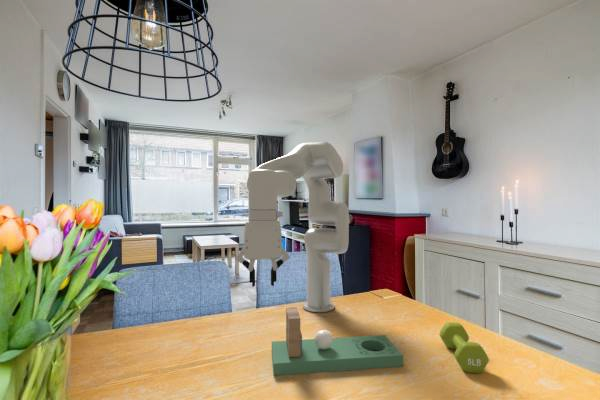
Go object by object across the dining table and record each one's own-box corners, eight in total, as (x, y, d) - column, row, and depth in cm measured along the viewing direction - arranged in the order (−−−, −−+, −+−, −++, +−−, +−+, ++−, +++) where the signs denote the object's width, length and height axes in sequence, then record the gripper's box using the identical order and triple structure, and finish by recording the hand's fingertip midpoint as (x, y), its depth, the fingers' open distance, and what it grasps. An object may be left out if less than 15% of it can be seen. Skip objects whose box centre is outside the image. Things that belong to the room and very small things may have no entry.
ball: (313, 344, 89) (313, 327, 89) (330, 343, 90) (330, 326, 90) (316, 353, 84) (316, 335, 84) (334, 352, 85) (334, 334, 85)
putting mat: (271, 351, 91) (271, 341, 91) (385, 344, 96) (385, 334, 96) (273, 375, 79) (273, 363, 79) (403, 366, 84) (403, 354, 84)
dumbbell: (490, 376, 79) (491, 348, 79) (457, 374, 80) (457, 345, 80) (466, 345, 96) (466, 321, 95) (438, 343, 97) (438, 320, 97)
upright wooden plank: (286, 342, 90) (286, 307, 90) (298, 342, 90) (298, 307, 90) (288, 357, 82) (288, 318, 82) (302, 356, 82) (302, 318, 82)
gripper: (293, 215, 89) (293, 280, 89) (231, 215, 87) (232, 282, 87) (296, 217, 82) (296, 287, 82) (229, 217, 80) (229, 290, 80)
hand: (263, 284), depth 85 cm, fingers open, 4 cm apart
